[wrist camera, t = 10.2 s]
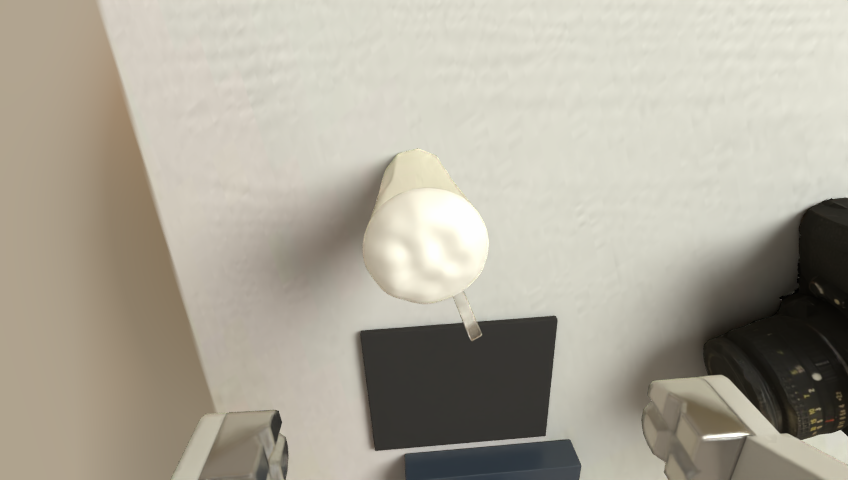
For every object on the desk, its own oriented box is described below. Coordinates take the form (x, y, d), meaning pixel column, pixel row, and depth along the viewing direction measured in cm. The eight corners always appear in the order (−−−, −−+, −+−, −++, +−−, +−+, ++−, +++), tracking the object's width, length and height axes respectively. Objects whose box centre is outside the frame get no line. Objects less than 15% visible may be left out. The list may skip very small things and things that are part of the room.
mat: (375, 446, 32) (375, 451, 32) (360, 330, 28) (360, 334, 27) (543, 431, 33) (545, 436, 32) (555, 315, 28) (557, 319, 28)
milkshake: (410, 245, 25) (421, 368, 16) (353, 166, 23) (331, 259, 14) (481, 202, 25) (533, 308, 16) (429, 117, 23) (455, 183, 14)
